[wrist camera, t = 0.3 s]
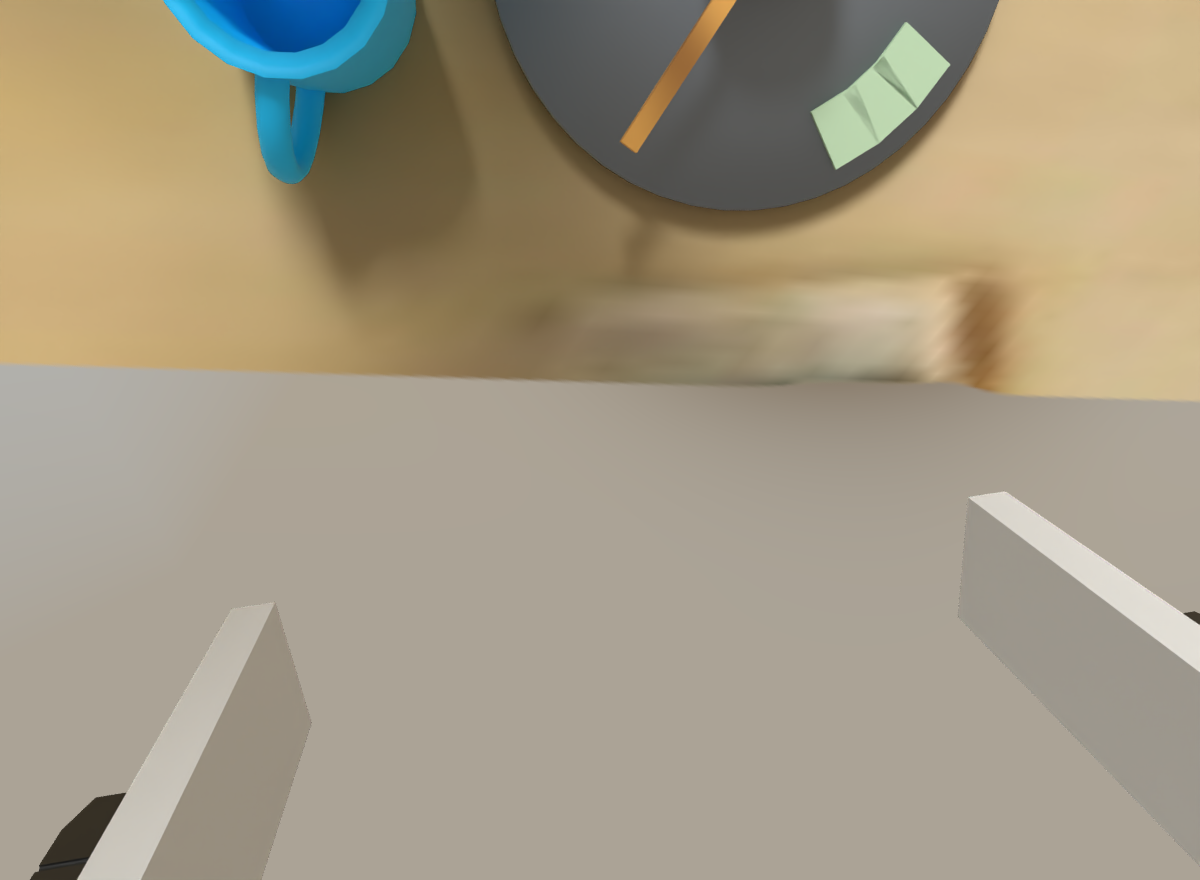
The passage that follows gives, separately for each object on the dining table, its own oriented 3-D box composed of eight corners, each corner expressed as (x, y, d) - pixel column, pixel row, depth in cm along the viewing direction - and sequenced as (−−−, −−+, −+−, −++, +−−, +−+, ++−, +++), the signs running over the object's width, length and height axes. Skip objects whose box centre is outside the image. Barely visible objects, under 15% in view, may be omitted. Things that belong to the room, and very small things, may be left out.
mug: (224, -144, 32) (137, -235, 24) (426, -93, 33) (405, -163, 26) (217, 162, 36) (141, 167, 28) (398, 196, 37) (372, 209, 29)
